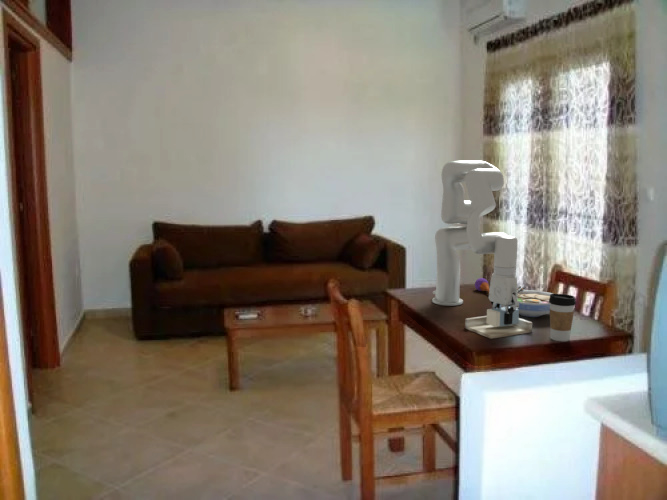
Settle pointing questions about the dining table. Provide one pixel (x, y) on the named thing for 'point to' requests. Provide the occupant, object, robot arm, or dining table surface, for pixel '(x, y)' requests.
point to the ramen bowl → (533, 302)
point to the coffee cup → (561, 316)
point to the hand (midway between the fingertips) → (502, 321)
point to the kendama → (482, 284)
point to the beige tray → (492, 332)
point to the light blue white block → (500, 317)
